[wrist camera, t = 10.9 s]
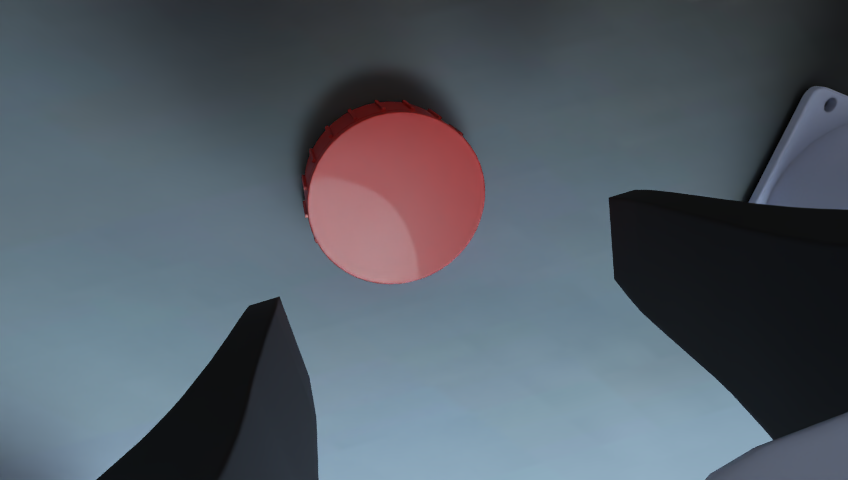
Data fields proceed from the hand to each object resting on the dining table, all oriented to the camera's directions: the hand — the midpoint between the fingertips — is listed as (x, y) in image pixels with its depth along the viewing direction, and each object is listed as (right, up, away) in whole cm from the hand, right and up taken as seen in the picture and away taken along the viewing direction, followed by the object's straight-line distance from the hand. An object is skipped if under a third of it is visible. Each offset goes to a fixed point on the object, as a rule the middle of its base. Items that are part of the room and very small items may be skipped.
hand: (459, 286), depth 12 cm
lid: (-2, +2, +5) cm, 6 cm away
